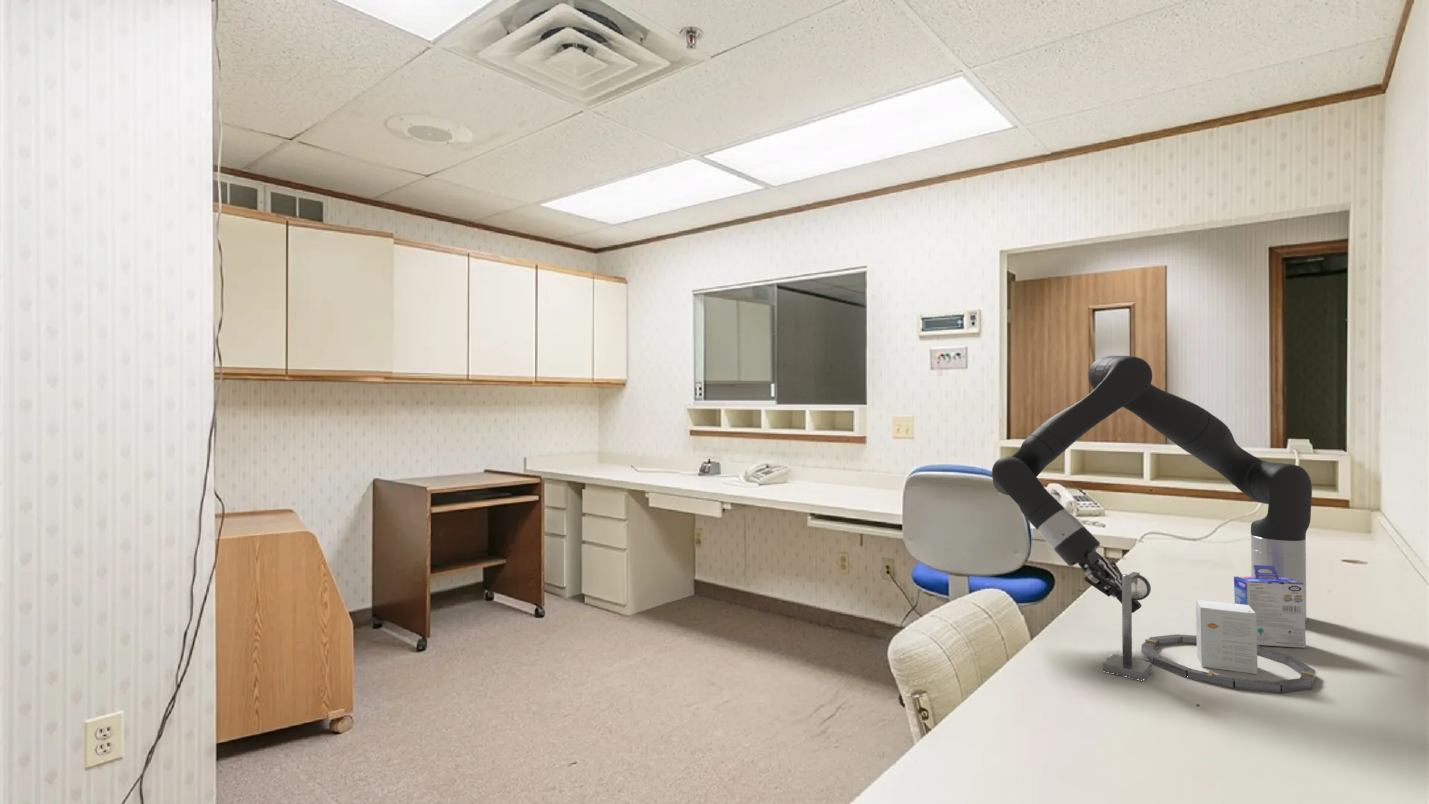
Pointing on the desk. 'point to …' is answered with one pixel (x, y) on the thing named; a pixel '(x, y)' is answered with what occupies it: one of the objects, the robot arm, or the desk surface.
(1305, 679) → the ring
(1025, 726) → the desk surface
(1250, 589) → the ink cartridge box
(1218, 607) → the small box
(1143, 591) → the dial gauge stand
